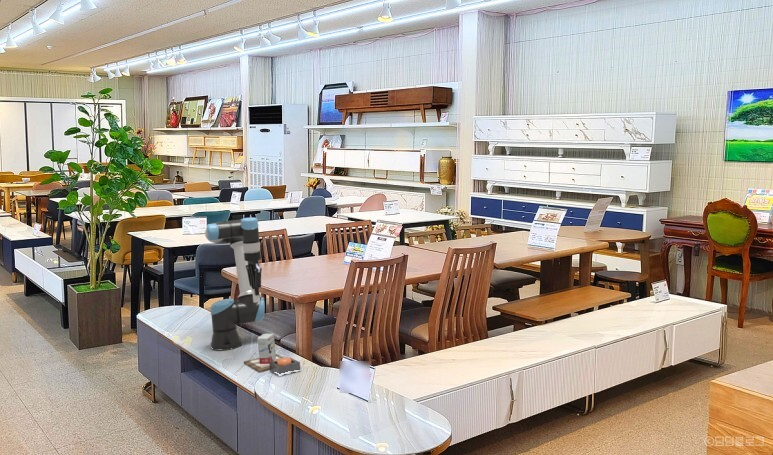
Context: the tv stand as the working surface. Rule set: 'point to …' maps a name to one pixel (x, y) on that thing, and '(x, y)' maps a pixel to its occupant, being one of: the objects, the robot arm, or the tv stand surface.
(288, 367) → the button housing
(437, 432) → the tv stand surface
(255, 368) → the wooden picture frame
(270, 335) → the ink box
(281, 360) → the button cap
